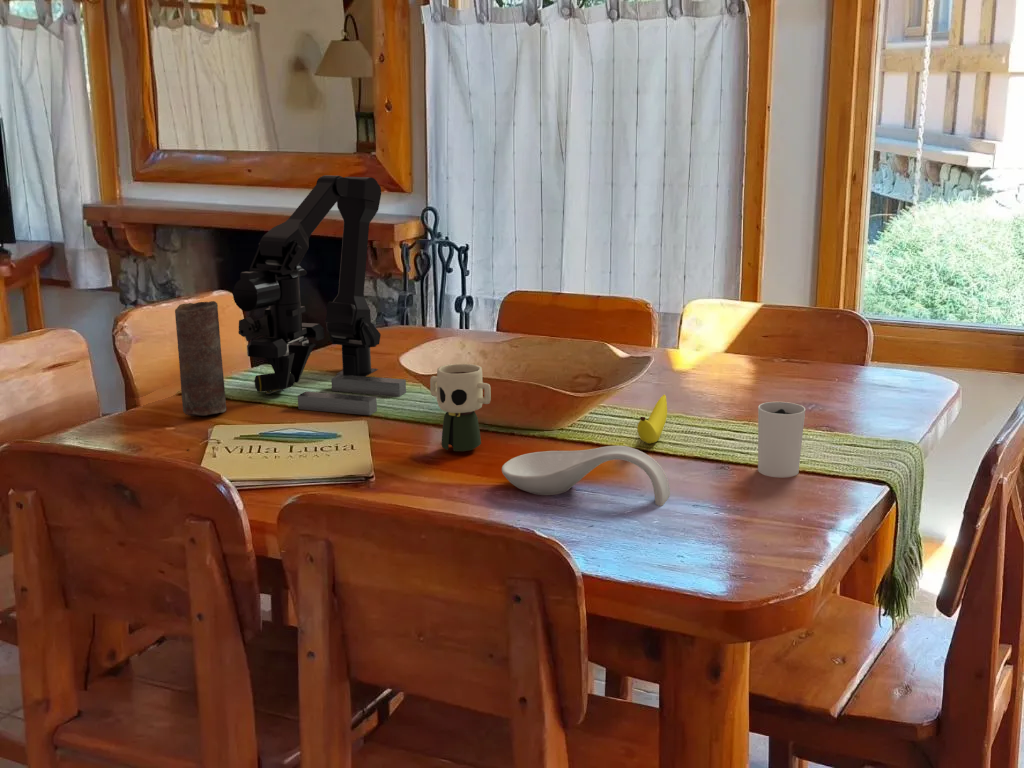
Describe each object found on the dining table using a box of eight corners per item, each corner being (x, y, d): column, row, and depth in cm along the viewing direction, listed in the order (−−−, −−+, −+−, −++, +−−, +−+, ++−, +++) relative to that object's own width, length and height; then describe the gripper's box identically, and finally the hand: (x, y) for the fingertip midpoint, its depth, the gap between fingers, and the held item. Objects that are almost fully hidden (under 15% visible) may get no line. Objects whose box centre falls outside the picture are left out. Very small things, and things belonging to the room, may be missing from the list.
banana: (672, 423, 183) (673, 387, 182) (651, 457, 166) (652, 417, 164) (655, 422, 184) (656, 385, 182) (632, 456, 167) (633, 416, 165)
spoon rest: (489, 498, 150) (489, 448, 148) (519, 471, 161) (518, 425, 159) (657, 519, 142) (658, 467, 140) (676, 489, 153) (678, 441, 151)
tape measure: (297, 389, 202) (294, 369, 202) (260, 395, 199) (257, 375, 199) (288, 390, 208) (285, 371, 208) (253, 396, 205) (250, 376, 205)
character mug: (419, 449, 171) (417, 369, 167) (444, 437, 176) (442, 360, 173) (479, 460, 165) (477, 377, 162) (502, 447, 171) (501, 367, 168)
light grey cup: (746, 469, 160) (749, 404, 158) (786, 464, 162) (789, 400, 160) (769, 483, 154) (773, 416, 151) (810, 478, 156) (815, 411, 153)
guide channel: (339, 387, 208) (338, 374, 208) (406, 392, 204) (405, 379, 204) (298, 409, 194) (297, 395, 193) (369, 415, 189) (369, 401, 189)
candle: (219, 421, 187) (210, 307, 182) (177, 421, 187) (167, 307, 182) (231, 409, 194) (223, 299, 189) (191, 409, 194) (181, 299, 189)
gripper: (271, 292, 209) (276, 370, 213) (217, 309, 192) (224, 394, 196) (323, 294, 206) (327, 374, 210) (273, 312, 189) (279, 398, 193)
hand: (289, 385), depth 202 cm, fingers closed on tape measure, 4 cm apart
